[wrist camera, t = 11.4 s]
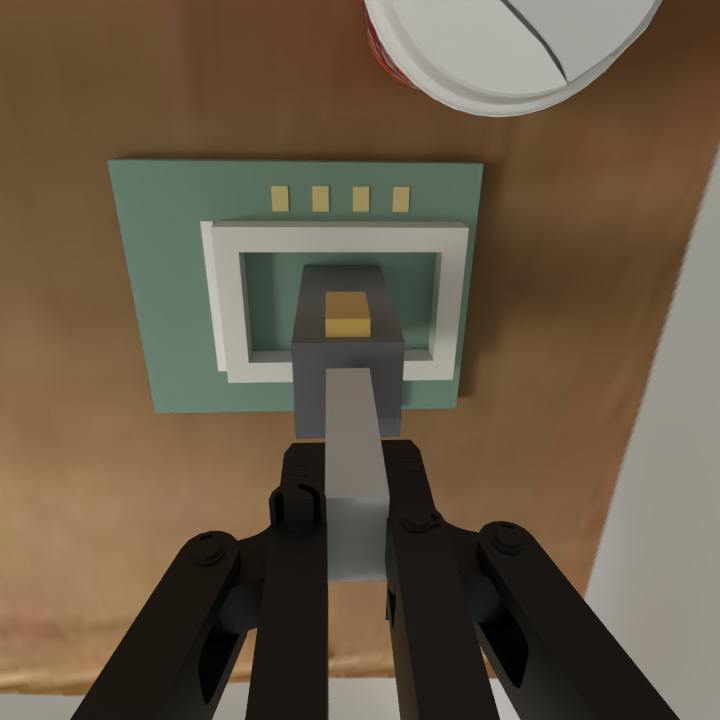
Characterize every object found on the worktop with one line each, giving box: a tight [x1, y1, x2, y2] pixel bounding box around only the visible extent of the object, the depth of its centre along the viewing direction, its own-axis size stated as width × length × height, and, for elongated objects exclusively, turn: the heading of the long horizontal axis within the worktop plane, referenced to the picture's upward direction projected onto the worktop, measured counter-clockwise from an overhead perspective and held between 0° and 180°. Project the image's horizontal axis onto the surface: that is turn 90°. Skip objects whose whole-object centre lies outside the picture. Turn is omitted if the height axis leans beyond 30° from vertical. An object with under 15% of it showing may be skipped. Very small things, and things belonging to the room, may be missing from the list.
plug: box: [291, 265, 405, 439], centre depth 23 cm, size 4×5×10 cm
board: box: [107, 158, 484, 413], centre depth 28 cm, size 18×14×3 cm
